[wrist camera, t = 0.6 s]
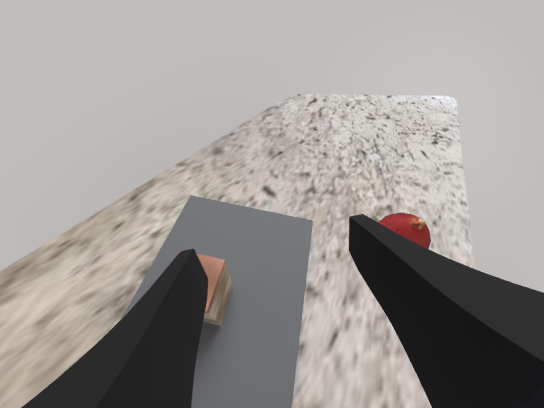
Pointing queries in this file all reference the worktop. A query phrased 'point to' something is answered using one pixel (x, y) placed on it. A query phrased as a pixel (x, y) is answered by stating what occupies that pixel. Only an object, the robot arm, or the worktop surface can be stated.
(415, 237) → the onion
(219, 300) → the block
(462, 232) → the worktop surface
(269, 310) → the mat
